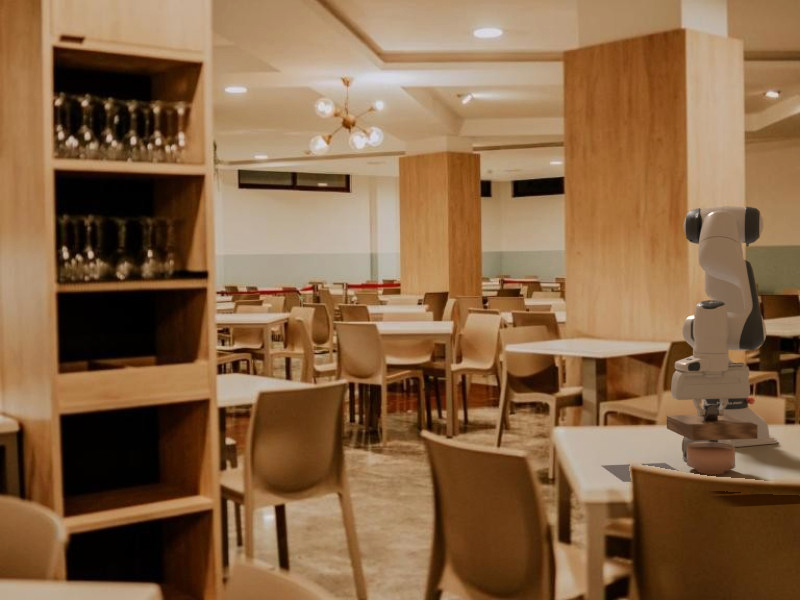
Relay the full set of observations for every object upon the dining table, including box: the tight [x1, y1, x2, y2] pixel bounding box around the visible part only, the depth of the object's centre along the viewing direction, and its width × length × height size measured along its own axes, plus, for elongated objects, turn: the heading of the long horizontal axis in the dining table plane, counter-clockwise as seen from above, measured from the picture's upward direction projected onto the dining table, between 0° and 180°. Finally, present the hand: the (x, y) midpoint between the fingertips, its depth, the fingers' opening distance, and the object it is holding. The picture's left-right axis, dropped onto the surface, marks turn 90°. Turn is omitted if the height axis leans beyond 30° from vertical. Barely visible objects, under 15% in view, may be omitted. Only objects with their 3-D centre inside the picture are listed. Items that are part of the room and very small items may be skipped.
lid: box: [666, 404, 758, 441], centre depth 242 cm, size 17×17×8 cm
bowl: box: [686, 442, 736, 475], centre depth 243 cm, size 12×12×7 cm
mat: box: [601, 462, 679, 483], centre depth 243 cm, size 18×18×1 cm
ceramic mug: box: [681, 436, 718, 463], centre depth 257 cm, size 11×8×8 cm
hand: (710, 415), depth 242 cm, fingers closed on lid, 4 cm apart
